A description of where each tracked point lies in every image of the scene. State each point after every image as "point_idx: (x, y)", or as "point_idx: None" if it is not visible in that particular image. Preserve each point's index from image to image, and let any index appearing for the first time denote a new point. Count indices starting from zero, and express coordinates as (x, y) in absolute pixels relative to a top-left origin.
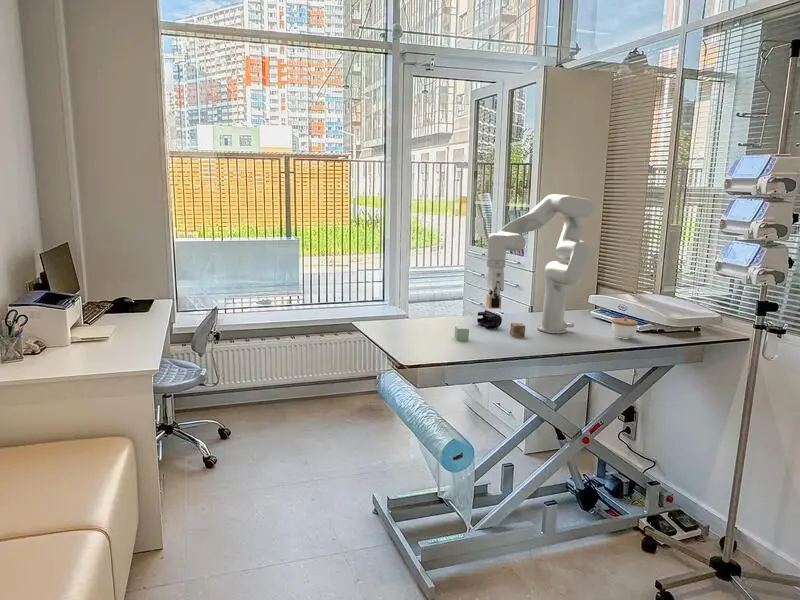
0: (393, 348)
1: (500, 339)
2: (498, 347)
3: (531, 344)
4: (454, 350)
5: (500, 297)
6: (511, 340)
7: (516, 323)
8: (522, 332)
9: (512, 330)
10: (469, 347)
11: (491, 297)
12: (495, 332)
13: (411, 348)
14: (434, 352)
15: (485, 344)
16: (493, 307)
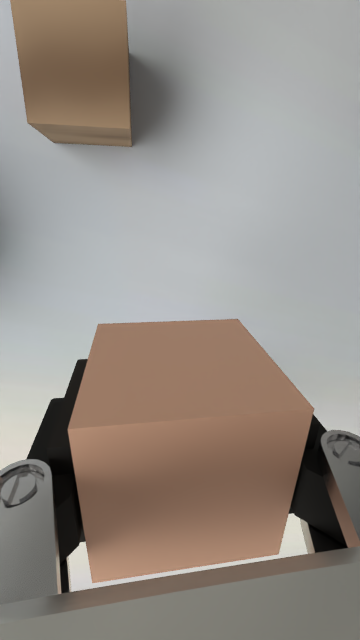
0: None
1: (195, 249)
2: (330, 295)
3: (302, 76)
4: None
5: (307, 417)
6: (214, 187)
7: (34, 66)
8: (128, 58)
9: (100, 137)
10: (313, 406)
11: (279, 527)
12: (38, 238)
13: (301, 549)
14: None
15: (279, 342)
16: None
